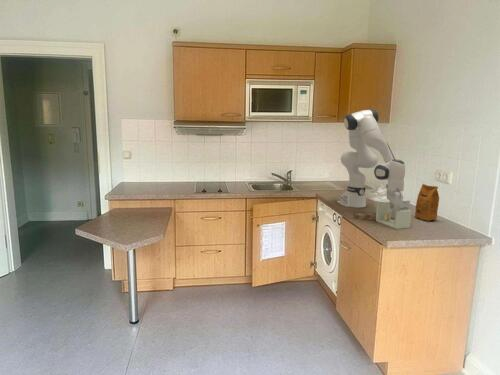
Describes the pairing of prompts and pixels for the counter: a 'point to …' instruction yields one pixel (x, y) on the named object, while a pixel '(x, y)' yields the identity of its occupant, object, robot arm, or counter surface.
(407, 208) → the supplement box
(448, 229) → the counter surface
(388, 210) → the pegged wall bracket
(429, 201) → the coffee package
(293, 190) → the counter surface
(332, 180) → the counter surface
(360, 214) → the brown wooden block
